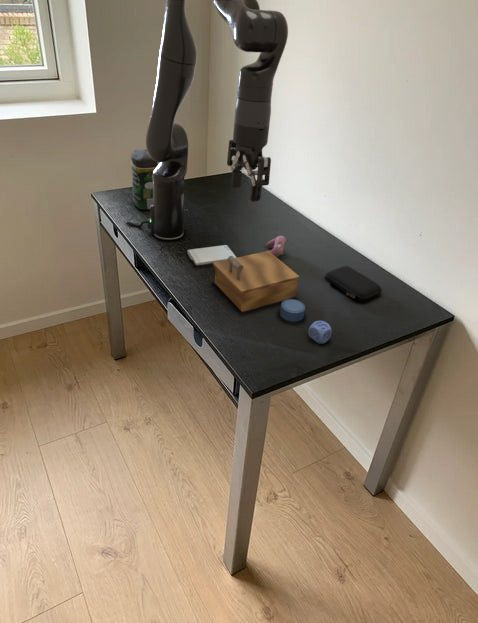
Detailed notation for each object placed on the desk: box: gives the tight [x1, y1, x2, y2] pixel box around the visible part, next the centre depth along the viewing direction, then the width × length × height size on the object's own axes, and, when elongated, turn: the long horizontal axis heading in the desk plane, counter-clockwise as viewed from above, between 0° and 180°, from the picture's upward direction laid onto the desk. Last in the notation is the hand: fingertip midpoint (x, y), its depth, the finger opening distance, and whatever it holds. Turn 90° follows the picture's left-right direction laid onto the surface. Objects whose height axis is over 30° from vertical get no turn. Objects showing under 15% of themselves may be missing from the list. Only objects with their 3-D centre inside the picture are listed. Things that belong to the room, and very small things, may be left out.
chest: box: [214, 268, 300, 313], centre depth 128 cm, size 17×15×6 cm
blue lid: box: [279, 298, 306, 323], centre depth 121 cm, size 6×6×4 cm
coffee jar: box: [130, 148, 159, 211], centre depth 162 cm, size 10×8×19 cm
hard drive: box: [186, 244, 237, 266], centre depth 142 cm, size 2×8×12 cm
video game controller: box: [266, 235, 287, 258], centre depth 145 cm, size 10×5×7 cm, turn 168°
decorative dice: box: [307, 320, 333, 345], centre depth 114 cm, size 4×4×4 cm
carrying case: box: [325, 265, 383, 302], centre depth 134 cm, size 11×3×15 cm
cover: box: [212, 250, 300, 294], centre depth 124 cm, size 17×15×5 cm
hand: (245, 193), depth 111 cm, fingers open, 8 cm apart
